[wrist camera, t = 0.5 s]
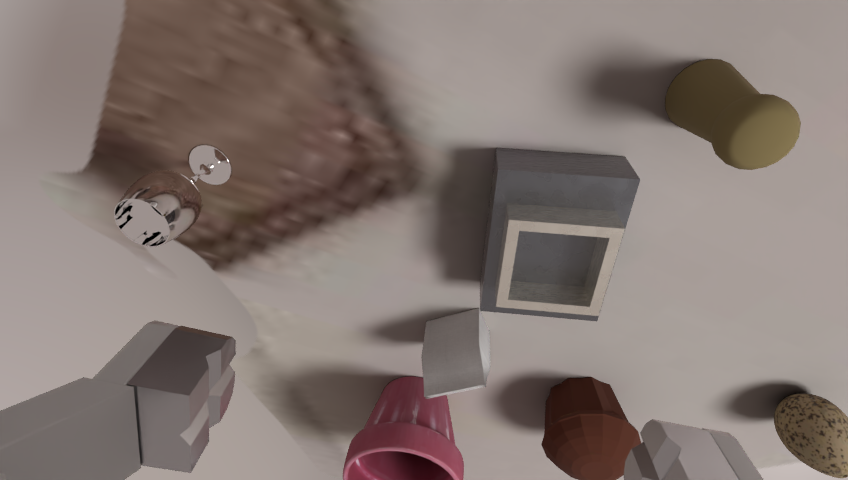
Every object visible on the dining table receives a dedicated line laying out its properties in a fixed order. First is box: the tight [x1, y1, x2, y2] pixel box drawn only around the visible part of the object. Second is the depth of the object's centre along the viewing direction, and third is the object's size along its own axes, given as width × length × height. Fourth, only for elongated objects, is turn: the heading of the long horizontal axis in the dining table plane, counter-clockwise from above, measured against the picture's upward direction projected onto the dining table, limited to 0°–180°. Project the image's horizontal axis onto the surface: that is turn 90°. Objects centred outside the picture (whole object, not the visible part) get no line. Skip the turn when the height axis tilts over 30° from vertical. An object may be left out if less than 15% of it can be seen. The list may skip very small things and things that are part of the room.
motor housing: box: [480, 148, 640, 321], centre depth 46 cm, size 16×12×8 cm
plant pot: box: [343, 376, 464, 480], centre depth 61 cm, size 14×14×13 cm
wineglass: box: [114, 145, 232, 247], centre depth 45 cm, size 6×6×12 cm
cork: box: [665, 59, 801, 170], centre depth 37 cm, size 6×6×11 cm
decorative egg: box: [774, 393, 848, 478], centre depth 55 cm, size 7×7×10 cm
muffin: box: [542, 377, 641, 480], centre depth 59 cm, size 12×11×10 cm
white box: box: [422, 308, 490, 399], centre depth 54 cm, size 4×7×10 cm, turn 113°
